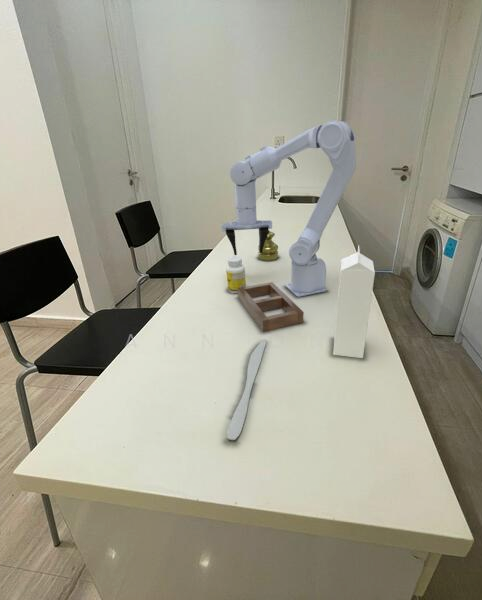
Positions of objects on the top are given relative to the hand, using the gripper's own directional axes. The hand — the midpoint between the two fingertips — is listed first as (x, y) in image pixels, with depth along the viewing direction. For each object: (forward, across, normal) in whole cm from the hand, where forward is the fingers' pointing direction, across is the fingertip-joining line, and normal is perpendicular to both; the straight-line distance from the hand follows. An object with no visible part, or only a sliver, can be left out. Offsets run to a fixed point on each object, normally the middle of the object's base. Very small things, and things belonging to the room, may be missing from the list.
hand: (248, 253), depth 99 cm
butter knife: (+9, -5, -46) cm, 48 cm away
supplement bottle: (+10, -4, -5) cm, 12 cm away
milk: (+10, +17, -39) cm, 44 cm away
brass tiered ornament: (+10, +9, +21) cm, 25 cm away
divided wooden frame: (+9, +3, -19) cm, 21 cm away
